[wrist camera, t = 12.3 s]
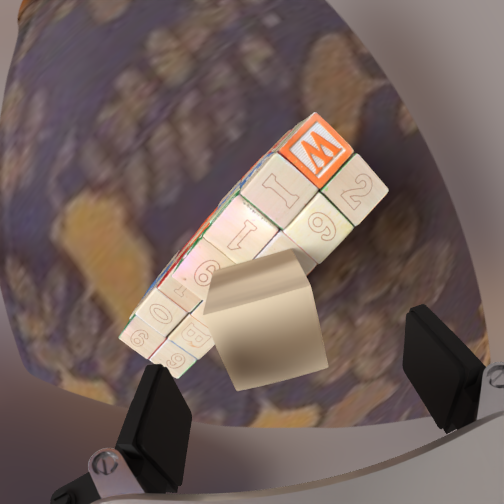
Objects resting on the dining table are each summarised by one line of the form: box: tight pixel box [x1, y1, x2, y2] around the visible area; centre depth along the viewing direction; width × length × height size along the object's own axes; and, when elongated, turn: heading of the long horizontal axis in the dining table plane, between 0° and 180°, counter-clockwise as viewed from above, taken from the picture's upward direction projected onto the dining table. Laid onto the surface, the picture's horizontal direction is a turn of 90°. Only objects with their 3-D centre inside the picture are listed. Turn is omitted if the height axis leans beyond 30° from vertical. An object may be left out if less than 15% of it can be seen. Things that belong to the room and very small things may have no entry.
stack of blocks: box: [119, 112, 389, 379], centre depth 23 cm, size 21×6×12 cm, turn 138°
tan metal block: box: [203, 249, 328, 391], centre depth 15 cm, size 4×4×5 cm
